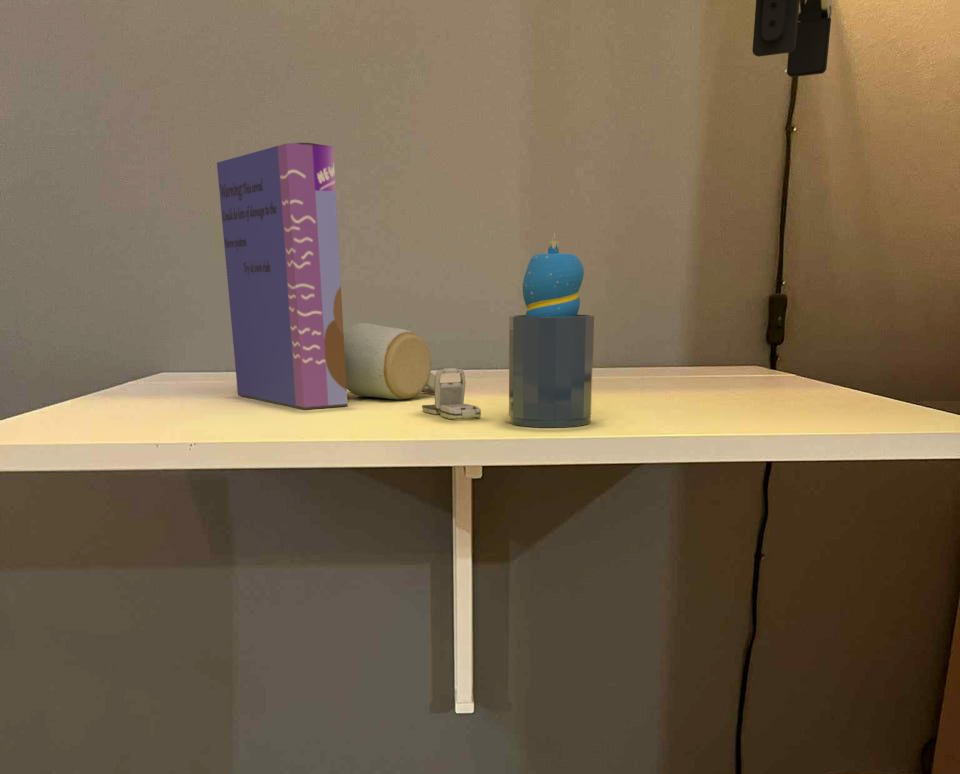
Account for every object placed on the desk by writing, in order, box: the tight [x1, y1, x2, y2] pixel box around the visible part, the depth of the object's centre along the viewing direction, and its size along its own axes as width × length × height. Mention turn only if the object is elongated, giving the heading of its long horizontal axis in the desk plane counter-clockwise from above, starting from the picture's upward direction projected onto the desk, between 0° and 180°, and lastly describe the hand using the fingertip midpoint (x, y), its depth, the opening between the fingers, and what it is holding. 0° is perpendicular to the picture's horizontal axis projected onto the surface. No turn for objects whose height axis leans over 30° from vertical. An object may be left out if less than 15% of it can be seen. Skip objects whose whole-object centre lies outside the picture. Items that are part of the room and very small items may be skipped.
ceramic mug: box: [343, 322, 436, 401], centre depth 107 cm, size 11×8×8 cm
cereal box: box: [216, 142, 348, 411], centre depth 101 cm, size 17×5×24 cm, turn 35°
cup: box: [508, 314, 595, 429], centre depth 86 cm, size 7×7×9 cm
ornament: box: [522, 232, 585, 317], centre depth 85 cm, size 5×5×15 cm
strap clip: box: [421, 367, 482, 420], centre depth 92 cm, size 8×3×4 cm, turn 25°
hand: (790, 64), depth 80 cm, fingers open, 9 cm apart
